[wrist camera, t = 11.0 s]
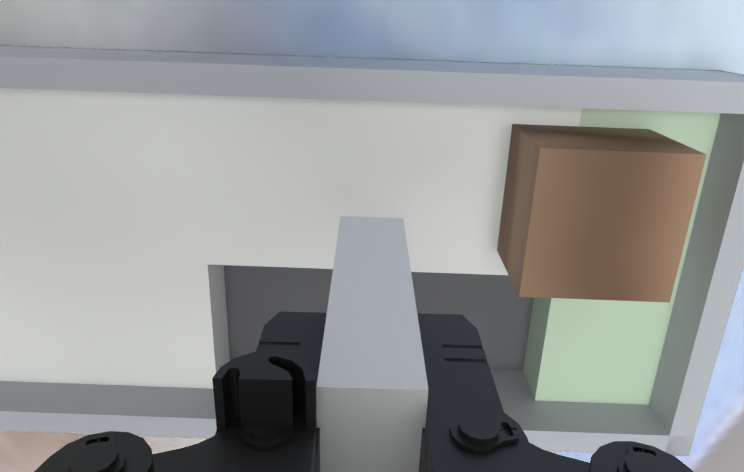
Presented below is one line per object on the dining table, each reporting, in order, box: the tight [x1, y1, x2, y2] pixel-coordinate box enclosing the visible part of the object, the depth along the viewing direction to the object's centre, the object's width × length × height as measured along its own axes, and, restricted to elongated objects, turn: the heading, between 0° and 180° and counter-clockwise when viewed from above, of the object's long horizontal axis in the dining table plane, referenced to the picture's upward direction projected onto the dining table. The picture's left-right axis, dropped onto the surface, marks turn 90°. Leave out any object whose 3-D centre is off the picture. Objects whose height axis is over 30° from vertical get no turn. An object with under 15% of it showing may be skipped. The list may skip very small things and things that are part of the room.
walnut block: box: [497, 124, 707, 303], centre depth 20 cm, size 5×5×4 cm
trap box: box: [0, 45, 744, 456], centre depth 23 cm, size 30×15×4 cm, turn 88°
